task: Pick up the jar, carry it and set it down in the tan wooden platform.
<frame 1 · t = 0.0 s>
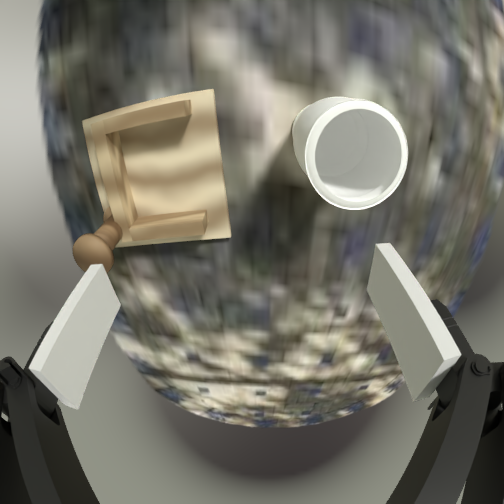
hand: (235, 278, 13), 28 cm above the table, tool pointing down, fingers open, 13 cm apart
jar: (321, 131, 35), on the table
tan wooden platform: (155, 174, 38), on the table
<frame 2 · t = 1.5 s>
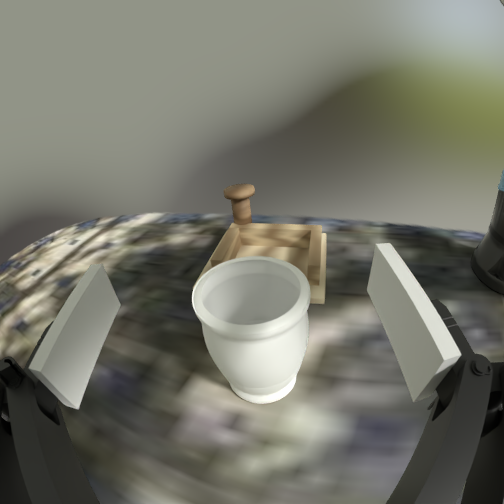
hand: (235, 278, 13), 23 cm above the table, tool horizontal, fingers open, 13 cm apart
jar: (262, 377, 32), on the table
tan wooden platform: (267, 263, 52), on the table
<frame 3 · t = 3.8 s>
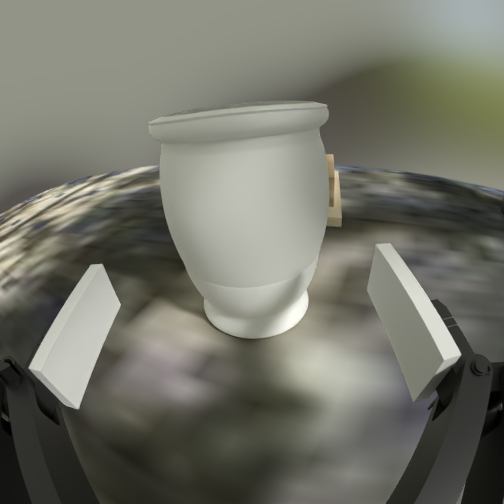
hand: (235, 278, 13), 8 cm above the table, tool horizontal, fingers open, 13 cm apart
jar: (256, 303, 23), on the table
tan wooden platform: (268, 193, 43), on the table
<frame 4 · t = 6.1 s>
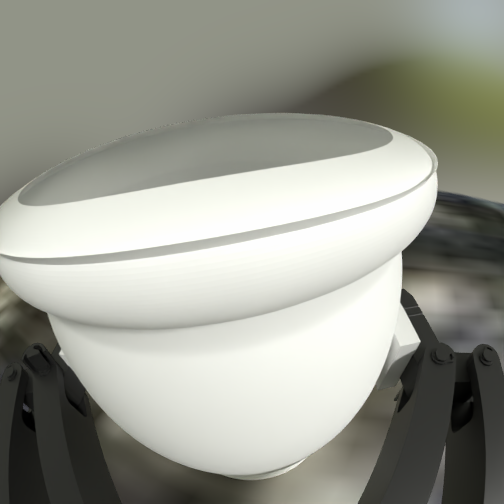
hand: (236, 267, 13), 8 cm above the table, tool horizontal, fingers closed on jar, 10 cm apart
jar: (250, 418, 14), on the table, touching gripper
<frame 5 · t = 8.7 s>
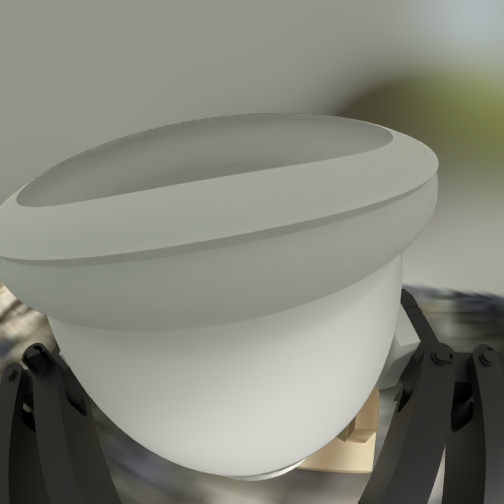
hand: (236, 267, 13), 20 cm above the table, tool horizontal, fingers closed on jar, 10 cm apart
jar: (250, 419, 14), point 11 cm above the table, touching gripper
tan wooden platform: (278, 379, 28), on the table
when the fingers open (10 cm above the table, at t = 11.5 s): jar drops 1 cm, resting on tan wooden platform.
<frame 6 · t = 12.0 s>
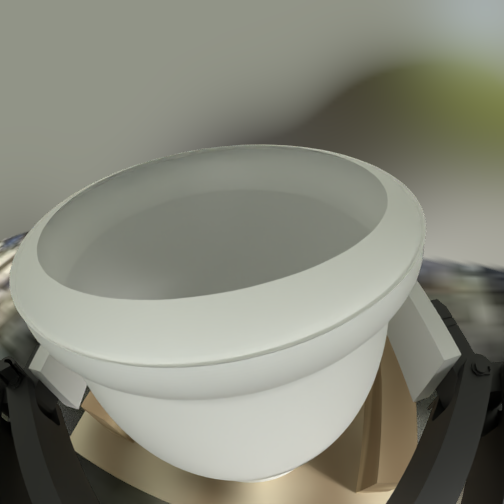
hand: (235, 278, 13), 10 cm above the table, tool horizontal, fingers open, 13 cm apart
jar: (250, 425, 15), point 1 cm above the table, touching tan wooden platform
tan wooden platform: (250, 392, 18), on the table
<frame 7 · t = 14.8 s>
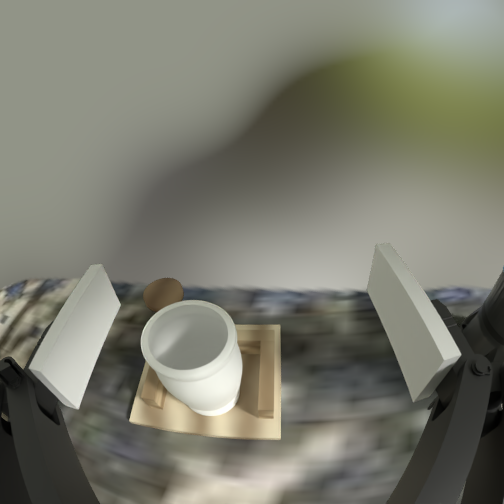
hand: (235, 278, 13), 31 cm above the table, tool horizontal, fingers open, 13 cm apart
jar: (211, 392, 37), point 1 cm above the table, touching tan wooden platform
tan wooden platform: (209, 377, 40), on the table
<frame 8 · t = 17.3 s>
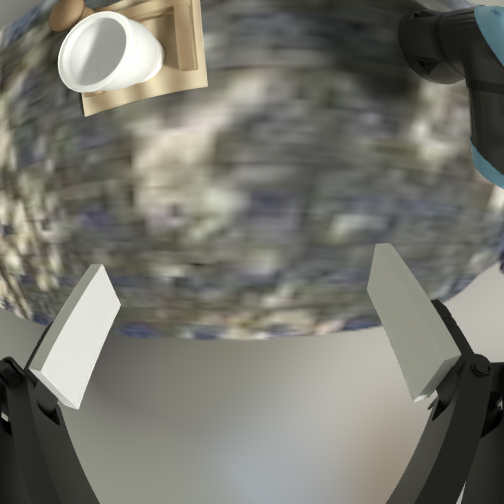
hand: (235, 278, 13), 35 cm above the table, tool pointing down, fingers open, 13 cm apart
jar: (140, 59, 32), point 1 cm above the table, touching tan wooden platform
tan wooden platform: (136, 46, 32), on the table
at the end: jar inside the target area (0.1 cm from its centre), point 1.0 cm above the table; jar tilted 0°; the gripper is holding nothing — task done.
